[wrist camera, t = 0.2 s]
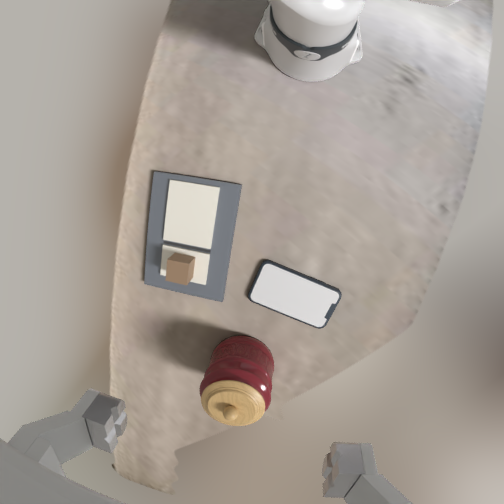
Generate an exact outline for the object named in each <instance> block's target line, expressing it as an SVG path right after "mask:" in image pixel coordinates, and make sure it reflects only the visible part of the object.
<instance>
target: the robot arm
mask: <svg viewBox="0 0 504 504" xmlns="http://www.w3.org/2000/svg"><path fill="white" fill-rule="evenodd" d="M410 1H414V2H419V3H425V4H430V5H435V6H439V7H447V6H450V5H452V4H454V3H456V2H458V1H460V0H410ZM268 2H269V5H268V7H267V9H265V11H264V16H263V18H262V20H261V22H260V24H259V26H258V28H257V31H256V33H255V37H254V38H255V41H256V42H257V43H258V44H259V45H260V46H261V47H263V48H264V49H265V50H266V51H267V53H268V54H269V56H270V58H271V60H272V62H273V63H274V64H275V66H276V67H277V68H278V69H279V70H281V71H282V72H283V73H285V74H286V75H288V76H290V77H292V78H294V79H297V80H301V81H308V82H316V81H322V80H326V79H329V78H331V77H333V76H335V75H336V74H338V73H339V72H340V71H341V70H342V69H343V68H344V67H346V66H347V65H350V64H353V63H356V62H359V61H360V60H361V59H362V55H363V54H362V43H361V34H360V25H359V15H360V13H361V11H362V9H363V7H364V3H365V0H268ZM356 50H357V51H356ZM124 409H125V401H123V400H120V399H118V398H115V397H112V396H110V395H107V394H105V393H102V392H99V391H97V390H94V389H89V390H87V391H86V393H85V394H84V395H83V396H82V398H81V399H80V400H79V402H78V403H77V404H76V405H75V407H74V408H73V409H72V411H71V412H69V411H65V412H62V413H60V414H57V415H54V416H50V417H47V418H44V419H41V420H39V421H35V422H32V423H29V424H26V425H23V426H22V427H21V428H20V429H19V431H18V432H17V433H16V434H15V435H14V436H13V437H12V439H11V440H10V441H9V442H8V443H6V442H5V441H3V440H2V439H0V504H126V503H123V502H121V501H118V500H115V499H113V498H110V497H108V496H105V495H103V494H101V493H98V492H96V491H94V490H92V489H89V488H87V487H85V486H83V485H80V484H78V483H76V482H74V481H72V480H70V479H68V478H66V475H65V473H64V471H63V469H62V467H61V464H63V463H65V462H67V461H69V460H71V459H72V458H74V457H76V456H78V455H80V454H82V453H84V452H86V451H87V450H89V449H91V448H92V447H96V448H99V449H101V450H104V451H106V452H109V453H112V452H113V450H114V448H115V446H116V445H117V443H118V440H117V437H118V436H121V435H122V434H123V432H124V431H125V428H126V424H127V414H126V413H125V412H124V411H123V410H124ZM322 475H323V476H324V478H325V479H326V480H325V481H324V483H323V497H334V498H335V497H336V498H344V500H345V501H346V503H347V504H412V503H411V502H410V501H409V500H408V499H407V498H406V497H405V496H404V495H403V494H402V493H401V492H400V491H398V490H397V489H396V488H395V487H394V486H393V485H392V484H391V483H390V482H389V481H388V480H387V479H386V478H385V477H384V476H383V475H382V474H378V472H377V467H376V462H375V458H374V452H373V448H372V445H371V444H370V443H345V442H334V443H332V445H331V447H330V453H328V454H327V455H326V457H325V459H324V462H323V468H322Z"/></svg>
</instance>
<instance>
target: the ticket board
mask: <svg viewBox="0 0 504 504" xmlns="http://www.w3.org/2000/svg"><path fill="white" fill-rule="evenodd" d="M241 188H242V185H241V184H235V183H229V182H223V181H218V180H211V179H205V178H199V177H192V176H186V175H179V174H172V173H165V172H158V171H154V176H153V184H152V192H151V202H150V212H149V222H148V234H147V247H146V262H145V281H144V284H147V285H151V286H155V287H159V288H163V289H167V290H171V291H176V292H180V293H184V294H189V295H193V296H197V297H202V298H206V299H211V300H215V301H220V302H223V299H224V293H225V286H226V280H227V273H228V267H229V261H230V254H231V248H232V242H233V236H234V230H235V223H236V217H237V211H238V205H239V199H240V193H241ZM163 244H165V245H170V246H175V247H180V248H185V249H190V250H194V251H199V252H204V253H209V254H210V259H209V266H208V274H207V281H206V285H203V284H198V283H194V282H189V283H188V285H183V284H178V283H174V282H170V281H165V280H166V276H163V275H160V272H161V259H162V247H163Z"/></svg>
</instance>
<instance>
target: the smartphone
mask: <svg viewBox="0 0 504 504" xmlns="http://www.w3.org/2000/svg"><path fill="white" fill-rule="evenodd" d="M248 298H249V300H250V301H252V302H254V303H256V304H259V305H261V306H263V307H266V308H268V309H271V310H273V311H276V312H278V313H281V314H283V315H285V316H288V317H290V318H293V319H295V320H298V321H300V322H303V323H305V324H308V325H310V326H313V327H316V328H319V329H320V328H323V327H325V326H326V324H327V322H328V321H329V319H330V317H331V315H332V313H333V312H334V310H335V308H336V306H337V304H338V303H339V301H340V299H341V292H340V290H339V289H337V288H335V287H333V286H331V285H328V284H326V283H324V282H322V281H319V280H317V279H315V278H312V277H309V276H307V275H305V274H302V273H300V272H297V271H295V270H293V269H290V268H288V267H285V266H283V265H281V264H278V263H276V262H273V261H271V260H265V261H263V262H262V264H261V266H260V268H259V270H258V273H257V275H256V277H255V280H254V282H253V284H252V286H251V289H250V291H249V294H248Z"/></svg>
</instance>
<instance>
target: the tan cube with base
mask: <svg viewBox="0 0 504 504" xmlns="http://www.w3.org/2000/svg"><path fill="white" fill-rule="evenodd" d="M209 259H210V254H209V253H204V252H199V251H194V250H190V249H185V248H180V247H175V246H170V245H165V244H163V247H162V259H161V272H160V275H163V276H166V280H165V281H170V282H174V283H178V284H183V285H188V283H189V282H194V283H198V284H203V285H206V281H207V274H208V266H209Z"/></svg>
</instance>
